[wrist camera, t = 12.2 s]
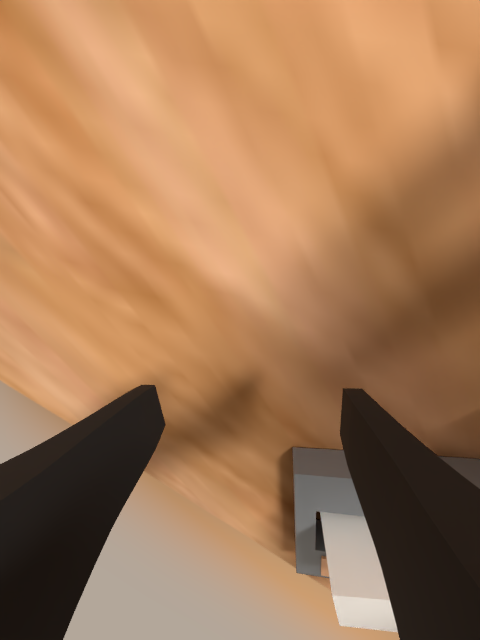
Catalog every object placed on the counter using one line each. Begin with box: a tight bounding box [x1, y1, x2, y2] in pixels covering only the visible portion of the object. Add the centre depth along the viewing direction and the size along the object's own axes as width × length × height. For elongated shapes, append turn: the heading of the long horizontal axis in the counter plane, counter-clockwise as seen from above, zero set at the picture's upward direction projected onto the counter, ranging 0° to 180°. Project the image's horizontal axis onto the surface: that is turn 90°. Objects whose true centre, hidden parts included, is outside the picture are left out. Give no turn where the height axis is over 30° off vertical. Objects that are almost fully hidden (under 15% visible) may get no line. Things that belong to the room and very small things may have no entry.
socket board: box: [293, 447, 480, 578], centre depth 20 cm, size 18×14×3 cm
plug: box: [320, 512, 398, 632], centre depth 19 cm, size 4×4×7 cm
